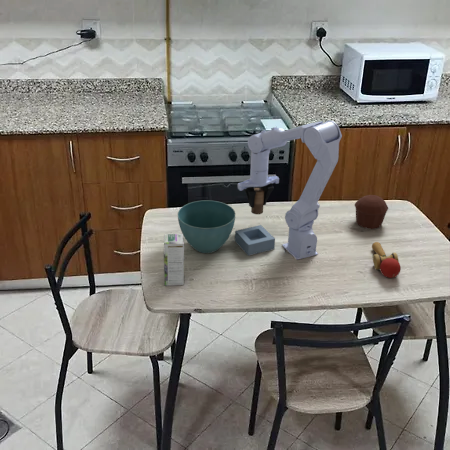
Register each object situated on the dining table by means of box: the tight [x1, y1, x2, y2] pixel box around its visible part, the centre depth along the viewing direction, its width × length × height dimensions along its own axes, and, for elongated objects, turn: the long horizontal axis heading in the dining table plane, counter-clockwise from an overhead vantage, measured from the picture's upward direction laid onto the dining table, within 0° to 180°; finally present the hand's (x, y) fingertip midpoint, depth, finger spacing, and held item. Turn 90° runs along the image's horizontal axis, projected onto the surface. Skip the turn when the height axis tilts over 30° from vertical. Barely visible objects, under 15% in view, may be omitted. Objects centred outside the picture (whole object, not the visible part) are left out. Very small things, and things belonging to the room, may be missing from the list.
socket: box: [234, 224, 276, 256], centre depth 188 cm, size 10×10×4 cm
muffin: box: [354, 194, 389, 230], centre depth 201 cm, size 12×11×10 cm
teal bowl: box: [177, 199, 236, 254], centre depth 185 cm, size 18×18×12 cm
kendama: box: [371, 241, 402, 279], centre depth 180 cm, size 8×6×18 cm
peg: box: [250, 187, 264, 215], centre depth 194 cm, size 4×4×8 cm
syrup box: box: [163, 233, 185, 287], centre depth 168 cm, size 6×6×14 cm
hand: (257, 205), depth 195 cm, fingers closed on peg, 4 cm apart
